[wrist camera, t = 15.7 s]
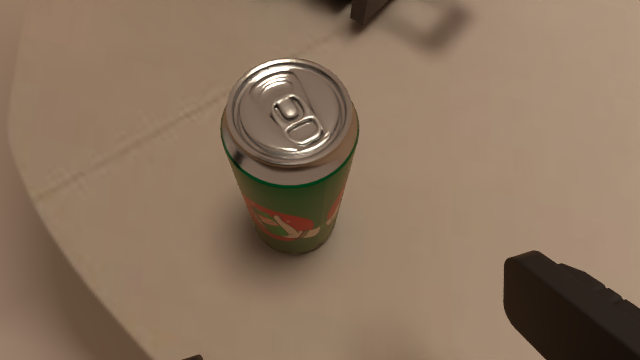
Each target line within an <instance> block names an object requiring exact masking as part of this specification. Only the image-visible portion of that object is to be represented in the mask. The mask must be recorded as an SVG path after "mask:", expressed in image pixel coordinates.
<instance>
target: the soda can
mask: <svg viewBox="0 0 640 360" xmlns="http://www.w3.org/2000/svg"><path fill="white" fill-rule="evenodd" d="M220 129H221V139H222V143H223V146H224V149H225V152H226V154H227V157H228V160H229V162H230V165H231V167H232V170H233V172H234V175H235V178H236V180H237V183H238V185H239V188H240V190H241V193H242V196H243V198H244V201H245V203H246V206H247V208H248V211H249V214H250V216H251V219H252V221H253V224H254V226H255V229H256V231H257V233H258V235H259V236H260V237H261V239H262V240H263V241H264V242H265V243H266V244H267V245H269V246H270V247H271V248H273V249H275V250H277V251H280V252H283V253H289V254H299V253H305V252H308V251H311V250H313V249H315V248H317V247H318V246H320V245H321V244H322V243H323V242H324V241H325V240H326V239H327V238H328V237H329V235H330V234H331V232H332V230H333V228H334V225H335V221H336V218H337V214H338V211H339V207H340V203H341V200H342V196H343V193H344V189H345V185H346V182H347V178H348V174H349V171H350V167H351V164H352V160H353V156H354V153H355V149H356V145H357V142H358V136H359V120H358V116H357V112H356V109H355V107H354V105H353V103H352V101H351V99H350V96H349V94H348V92H347V89H346V88H345V86H344V85H343V83H342V82H341V81H340V80H339V78H338V77H337V76H336V75H335V74H333V73H332V72H331V71H330V70H328V69H326V68H325V67H323V66H321V65H319V64H317V63H314V62H311V61H308V60H304V59H297V58H282V59H275V60H271V61H267V62H264V63H262V64H259V65H257V66H256V67H254V68H252V69H250V70H249V71H248V72H246V73H245V74H244V75H243V76H242V77H241V78H240V79H239V80H238V81H237V83H236V84H235V85H234V87H233V88H232V90H231V92H230V95H229V98H228V101H227V105H226V107H225V109H224V112H223V115H222V119H221V128H220Z"/></svg>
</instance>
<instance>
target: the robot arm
mask: <svg viewBox="0 0 640 360" xmlns="http://www.w3.org/2000/svg"><path fill="white" fill-rule="evenodd" d="M503 303H504V309H505V312H506V315H507V317H508V319H509V321H510V322H511V324H512V325H513V326H514V328H515V329H516V330H517V331H518V332H519V333H520V334H521V335H522V336H523V337H524V338H525V339H526V340H527V341H528V342H529V343H530V344H531V345H532V346H533V347H534V348H535V349H536V350H537V351H538V352H539V353H540V354H541V355H542V356H543V357H544V358H545V359H546V360H640V308H638V307H637V306H635V305H634V304H632V303H631V302H629V301H628V300H626V299H625V300H623V299H622V297H621V296H620V295H619V294H617V293H616V292H614V291H613V290H611V289H610V288H606V287H605V285H604V284H602V283H601V282H599V281H598V280H596V279H595V278H593V277H592V276H590V275H589V274H587V273H586V272H583V271H581V270H578V269H575V268H573V267H570V266H568V265H565V264H562V263H561V264H556V263H555V262H554V261H552V260H551V259H549V258H548V257H546V256H545V255H544V254H542V253H540V252H538V251H535V250H534V251H530V252H527V253H523V254H520V255H517V256H514V257H511V258H508V259H506V261H505V263H504V300H503ZM183 360H203V358H202V356H201V355H196V356H192V357H189V358H186V359H183Z"/></svg>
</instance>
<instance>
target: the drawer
mask: <svg viewBox="0 0 640 360" xmlns="http://www.w3.org/2000/svg"><path fill="white" fill-rule="evenodd" d="M387 1H388V0H353V2H352V9H351V15H350V18H351V19H353V20H355V21H356V22H358V23H359V24H361V25H363V24H364V23H365V22H366V21H368V20H369V19H370V18H371V17H372V16H373V15H374V14H375V13H376V12H377V11H378V10H379V9H380V8H381V7H382V6H383V5H384V4H385V3H386V2H387Z"/></svg>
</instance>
